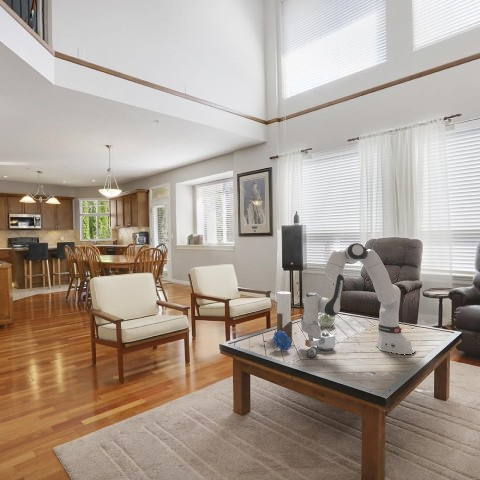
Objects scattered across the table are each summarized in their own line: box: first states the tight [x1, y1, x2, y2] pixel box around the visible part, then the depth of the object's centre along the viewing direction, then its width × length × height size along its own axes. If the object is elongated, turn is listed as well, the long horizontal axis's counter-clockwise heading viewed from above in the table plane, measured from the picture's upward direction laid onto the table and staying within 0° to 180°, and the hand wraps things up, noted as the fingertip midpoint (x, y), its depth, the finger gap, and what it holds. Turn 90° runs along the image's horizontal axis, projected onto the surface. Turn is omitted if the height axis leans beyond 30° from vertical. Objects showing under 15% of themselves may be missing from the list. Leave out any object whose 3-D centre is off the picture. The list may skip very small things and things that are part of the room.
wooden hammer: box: [276, 312, 293, 344], centre depth 230 cm, size 4×11×18 cm, turn 48°
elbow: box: [304, 332, 336, 349], centre depth 214 cm, size 18×8×7 cm, turn 119°
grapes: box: [272, 330, 292, 351], centre depth 212 cm, size 12×7×12 cm, turn 66°
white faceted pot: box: [316, 332, 335, 352], centre depth 217 cm, size 10×10×9 cm
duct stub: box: [305, 346, 319, 359], centre depth 202 cm, size 6×5×5 cm
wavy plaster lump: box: [318, 312, 336, 328], centre depth 272 cm, size 18×13×16 cm
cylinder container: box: [276, 291, 292, 333], centre depth 247 cm, size 9×9×30 cm
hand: (310, 341), depth 215 cm, fingers closed
